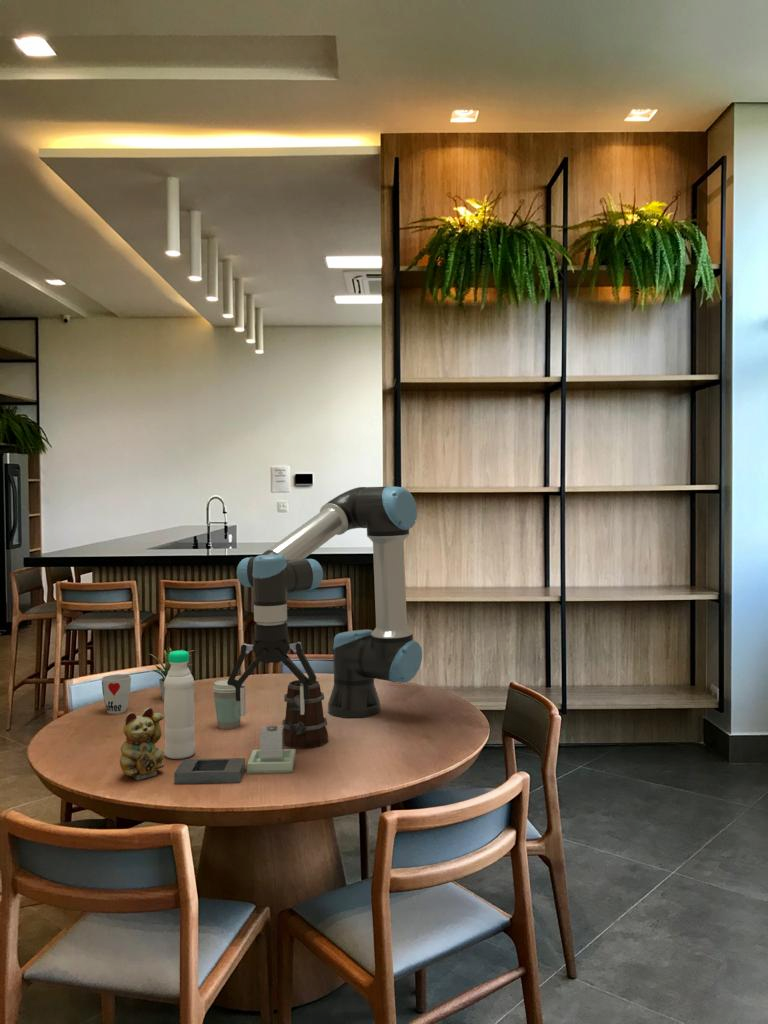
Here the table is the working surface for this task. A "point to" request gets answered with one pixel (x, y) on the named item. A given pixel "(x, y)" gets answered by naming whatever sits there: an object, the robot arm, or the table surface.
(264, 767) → the parts tray
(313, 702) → the mug
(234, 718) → the coffee cup
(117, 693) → the cup
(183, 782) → the grey rectangular frame
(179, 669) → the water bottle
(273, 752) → the block
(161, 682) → the house plant
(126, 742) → the decorative figurine
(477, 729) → the table surface
